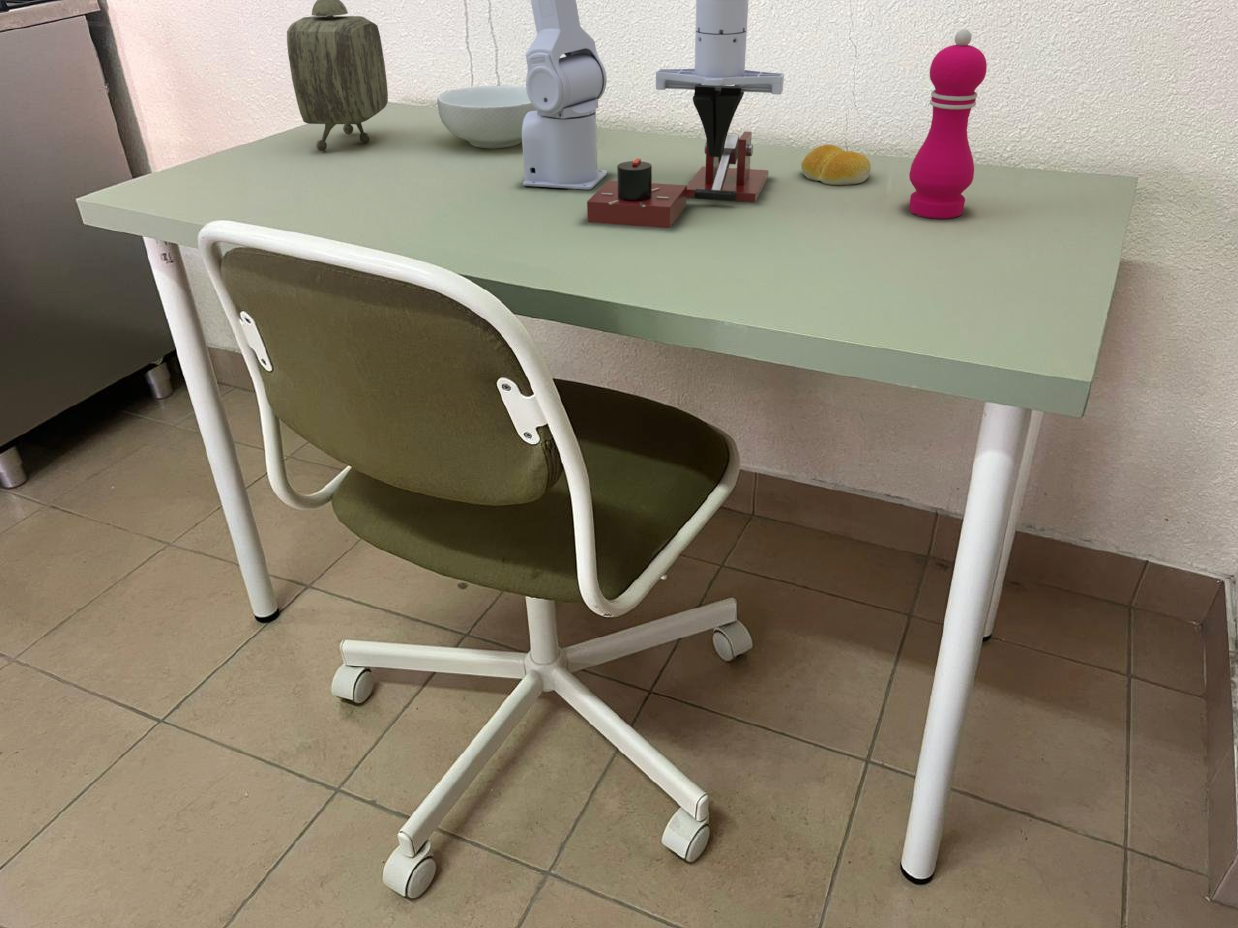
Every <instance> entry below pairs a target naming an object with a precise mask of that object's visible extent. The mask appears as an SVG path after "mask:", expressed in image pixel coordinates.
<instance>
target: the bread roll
mask: <svg viewBox="0 0 1238 928" xmlns="http://www.w3.org/2000/svg"><path fill="white" fill-rule="evenodd" d="M800 162H801V163H800V169H801V172H802V174H803V176H805V177H806V179H809V180H812V181H815V182H819V181H820V182H821V183H822V184H825V185H830V186H851V185H858V184H861V183H864V182H865V181H866V180H868V178H869V177H870V173H871V171H872V170H871V169H872V168H871V163H870V160H869V158H868V157H867V156H866V155H864V154H862V153H859V152H857V151H851V150H844V149H843V148H841V147H840V146H838V145H833V144H823V145H820V146H817V147H815V148H814V149H812V150H810V152H808V153H807V154H806V155H805V156H804V157H803V158H802V160H801V161H800Z"/></svg>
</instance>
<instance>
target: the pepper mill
mask: <svg viewBox="0 0 1238 928" xmlns="http://www.w3.org/2000/svg"><path fill="white" fill-rule="evenodd" d="M972 38H973V35H972V32H971V31H970V30H968V29H960V30H958V31H957V32H956V33H955V35H954V43H955V44H952V45H949V46H946V47H944V48H942V49H941V50H939V52H937V53H936V55H935V56H934V57H933V59H932V61H931V64H930V68H929V79H930V82H931V83H932V85H933V87H934V90H932V91H931V92H930V96H931V97H930V98H931V99H930V100H929V105H930V106H932V118H931V122H930V127H929V130H928V134H927V135H926V137H925V139H924V141H923V143H922V144H921V146H920V147H919V149H918V150H917V152H916V154H915V156H914V159H913V161H912V162H911V165H910V169H909V170H910V171H909V175H908V177H909V181H910V183H911V185H912V186H913V187H914V189H915V191H914V192H912V193H911V194H910V196H909V197H910V198H909V202H908V203H909V204H908V210H909V211H910V213H911V214H913V215H916V216H918V217H923V218H928V219H937V220H939V219H940V220H944V219H945V220H947V219H953V218H958V217H960V216H962V215H963V213H964V208H965V204H966V197H965V196H964V195H963V193H964V192H965V191H966V190H967V189H968V188H969V187H970V186H971V184H973V181H974V177H975V163H974V158H973V153H972V150H971V147H970V143H969V138H968V126H969V125H968V124H969V118H970V114H971V111H972V109H973V108H974V107H976V106H977V97H978V95H979V94H978V92H977V91H976V89H977V88H978V87H979V86H980V85H981V84H982V83H983V81H984V80H985V79H986V76H987V70H988V64H987V59H986V57H985V54H984V53H983V52H982V51H981V50H980V49H979V48H978V47H975V46H973V45H970V44H971V41H972Z"/></svg>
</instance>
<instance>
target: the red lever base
mask: <svg viewBox="0 0 1238 928" xmlns="http://www.w3.org/2000/svg"><path fill="white" fill-rule="evenodd" d="M752 136H753V132H752V131H748V130H747V131H743V132H742V134H741V135H740V136H739V140H738V157H737V161H736V167H735V168H734V167H729V168H728V172H727V175H726V179H725V182H724V186H723V189H722V190H724V191H736V201H735V202H744V203H756V201H757V200H758V199H759V196H760V194H761V192H762V190H763V188H764V187H765V185H766V183H767V181H768V180H769V170H768V169H756V168H755V169H754V168H751V157H752V156H753V154H754V144H752ZM704 154H705V166H701V167H700V168H699V170H698V171H697V172H696V174H695V175H694V176H693V178H692V179H691V180H690V181H689V183H688V184H686V185H687V199H695V198H694V193H695V189H708V190H712V186H713V183H714V180H715V176H716V173H717V170H718V166H719V161H718V157H710V156H709V150H708V144H707V139H706V141H705V143H704Z"/></svg>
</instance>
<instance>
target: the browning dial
mask: <svg viewBox="0 0 1238 928" xmlns="http://www.w3.org/2000/svg"><path fill="white" fill-rule="evenodd" d="M616 168H617V169H616V171H617V181H618V198H620V199H622V200H626V201H643V200H647V199H649V198H651V196H652V183H653V175H652V174H653V165H652V164H651V163H650V162H647V161H642V159H641V158H635V159H634V160H629V161H622V162H620V163H618V164H617V166H616Z"/></svg>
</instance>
